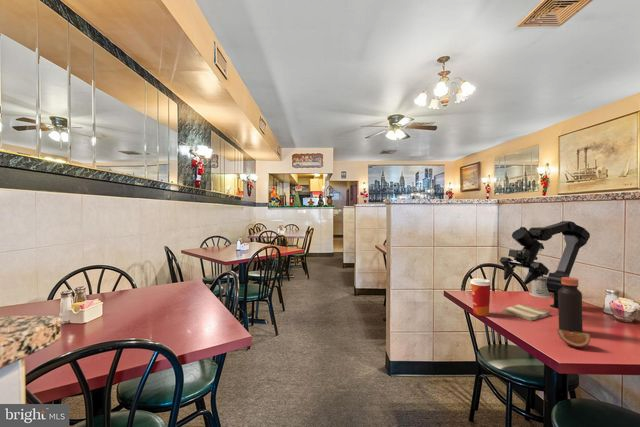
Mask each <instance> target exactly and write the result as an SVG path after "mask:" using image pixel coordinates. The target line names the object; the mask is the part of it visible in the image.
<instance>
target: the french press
mask: <svg viewBox="0 0 640 427" xmlns="http://www.w3.org/2000/svg"><path fill="white" fill-rule="evenodd" d="M542 251H543V249H540V250H539V252H542ZM548 270H549V272H548V274H547V275H546V276H545V275H543V276H540V277H538V278H536V279H534V280H533V281H531V292H529V295H530V296H533V297H535V298H544V299H549V298H551V299H552V298H553V295H552V294H551V293H550V292H548V289H547V285H546V282H547V278H548V276H549V273H550V269H549V268H548Z"/></svg>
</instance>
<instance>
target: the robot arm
mask: <svg viewBox="0 0 640 427" xmlns="http://www.w3.org/2000/svg"><path fill="white" fill-rule="evenodd" d="M557 234H558V235H559V234H561V235H563V237H564V238H563V239H564V242H565V244H566V245H565V246H564V247H565V248H564V250H563V251H562V252H563V253H562V255H561V258H560V260H559V262H558V266H557V268H556V270H555V271H554V272H550V271H549V270H550V269H549V268H548V267H547V266H546V265H545V264H544V263H542V262H540V261H539V262H538V259H539V258H538V257H537V256H538V254H539V253H540V251H539V250H540V249H542V250H545V246H544V244H543V242H546V241H548V240H551V239H552V238H553V236H554V235H557ZM590 236H591V234H590V232H589V231H588V230H587V229H586V228H584V227H583V226H580V225H578V224H576V223H575V222H574V221H570V220H569V221H567V220H562V221H560V222H557V223H554V224H550V225H547V226H543V227H541V226H540V227H539V226H538V227H537V226H536V227H533V226H532V227H530V228H529V229H527V227H525V226H520V227H519V228H517V229H516V230H514V231H513V232H512V234H511V238H512V239H513V240H514V241H515V242H516V243H518V245H520V246H521V247H522V249H519V250H518V249H517V250H516V249H509V250H508V254H507V256H502V257H500V259H499V263H501V265H502V266H503V271H504V272H503V280H505V281H507V280H508V279H509V277H510V276H511V275H512V274H513V272H514V271H515V268H516V267H519V268H524V269H528V273H527V275H526V276H525V278H524V281H523V284H524V285H525V286H527V285H528V284H530V283H532V281H533V280H534V279H536V278H538V277H540V276H547V277H548V278H547V279H546V280H547V282H546V285H547V289H548V292H550V294H553V304H550V305H549V306H550V307H551V308H552V307H553V308H557V309H559V308H558V290H559V289H561V288H562V284H561V278H562V277H570V275H571V272H572V269H573V266H574V265H575V261H576V259H577V255H578V253H579V251H580V249H581V248H582V247H584V246H585V245H587V243H588V241H589V239H590ZM540 241H542V242H540ZM510 257H511V258H510ZM512 258H513V259H512ZM548 269H549V270H548ZM548 272H549V273H548ZM547 274H548V275H547Z"/></svg>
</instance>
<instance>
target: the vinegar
mask: <svg viewBox="0 0 640 427" xmlns="http://www.w3.org/2000/svg"><path fill="white" fill-rule="evenodd" d="M579 283H580V282H579V279H578V278H575V277H570V276H569V277H562V278H561V284H562V288H561V289H559V290H558V308H557V309H558V329H560V330H566V331H570V332H573V331H574V332H580V333H584V332H583V329H584V328H583V293H582V292H581V291H580V290H579V289H578V287H579Z"/></svg>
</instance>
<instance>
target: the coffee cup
mask: <svg viewBox="0 0 640 427" xmlns="http://www.w3.org/2000/svg"><path fill="white" fill-rule="evenodd" d="M469 282H470V286H471V289H470V290H471V300H472V313H473V315H476V316H478V317H479V316H480V317H488V316H489V315H490V298H491V285H492V283H491V280H489V279H486V278H480V277H479V278H476V277H475V278H471V279H470V281H469Z"/></svg>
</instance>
